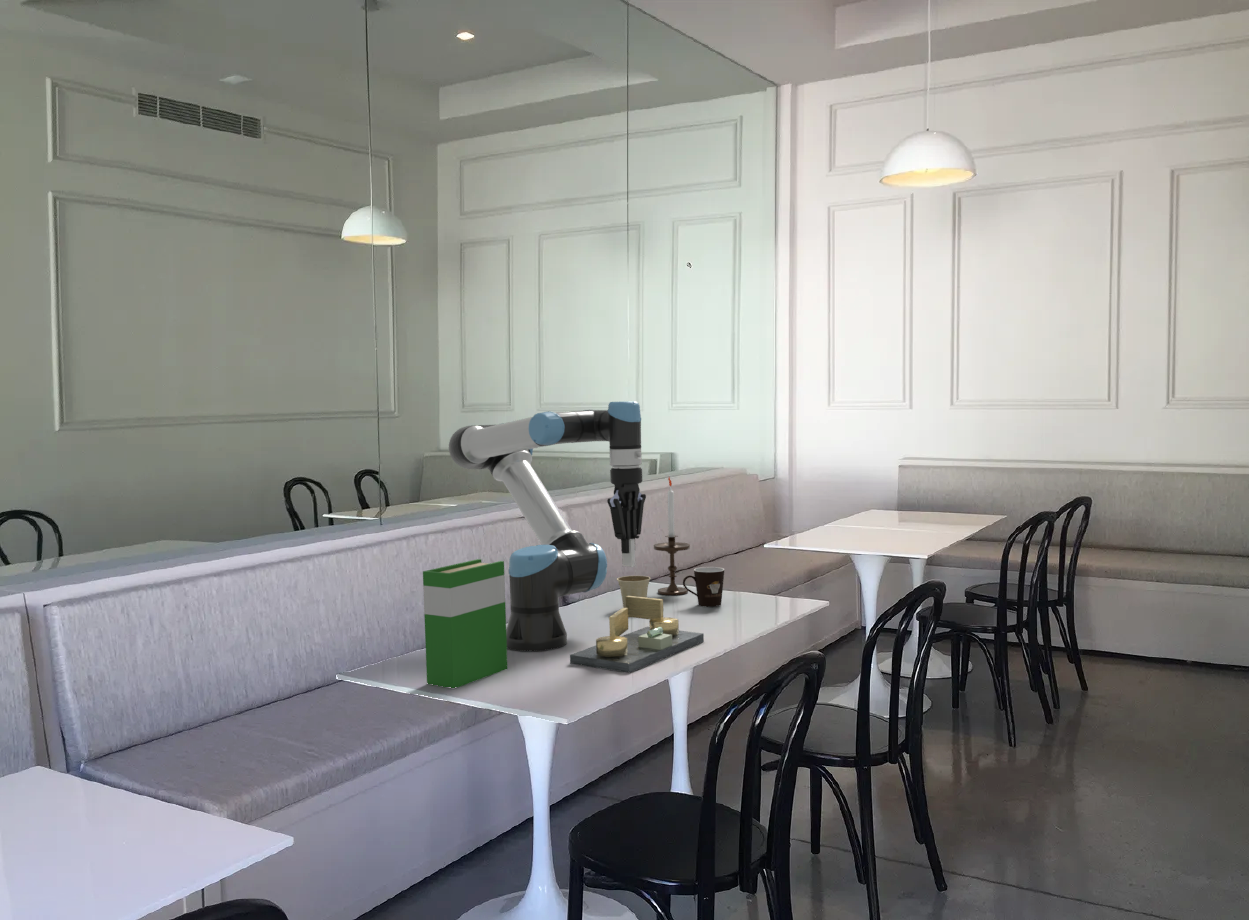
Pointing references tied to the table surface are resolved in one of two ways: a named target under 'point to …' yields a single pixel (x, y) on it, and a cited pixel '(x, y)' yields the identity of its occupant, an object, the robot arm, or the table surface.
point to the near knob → (614, 636)
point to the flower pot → (633, 586)
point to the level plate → (640, 650)
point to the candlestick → (671, 549)
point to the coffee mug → (708, 585)
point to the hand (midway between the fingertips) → (628, 566)
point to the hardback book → (464, 622)
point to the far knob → (651, 613)
